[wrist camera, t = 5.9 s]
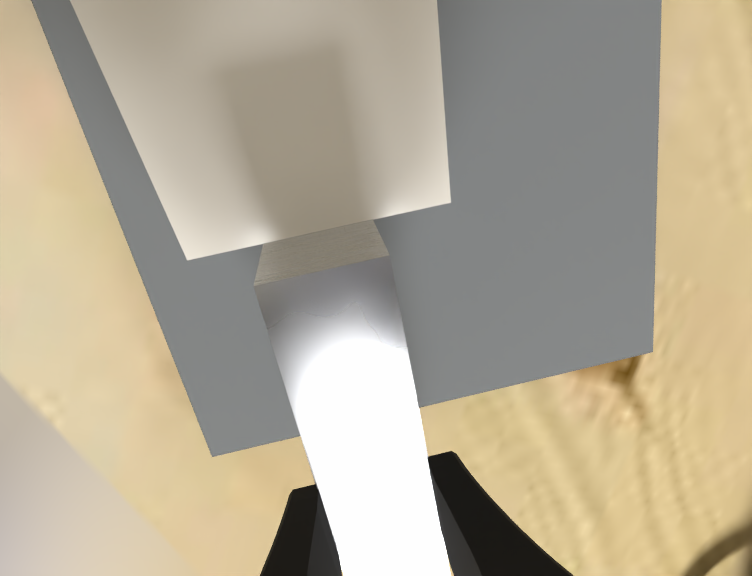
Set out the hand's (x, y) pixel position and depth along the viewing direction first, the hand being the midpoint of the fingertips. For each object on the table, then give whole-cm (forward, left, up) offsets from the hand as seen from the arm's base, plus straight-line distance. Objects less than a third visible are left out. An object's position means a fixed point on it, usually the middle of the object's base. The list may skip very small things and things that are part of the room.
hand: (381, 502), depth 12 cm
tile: (0, -6, -5) cm, 8 cm away
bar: (0, 0, -2) cm, 2 cm away
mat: (-2, -6, -6) cm, 9 cm away
